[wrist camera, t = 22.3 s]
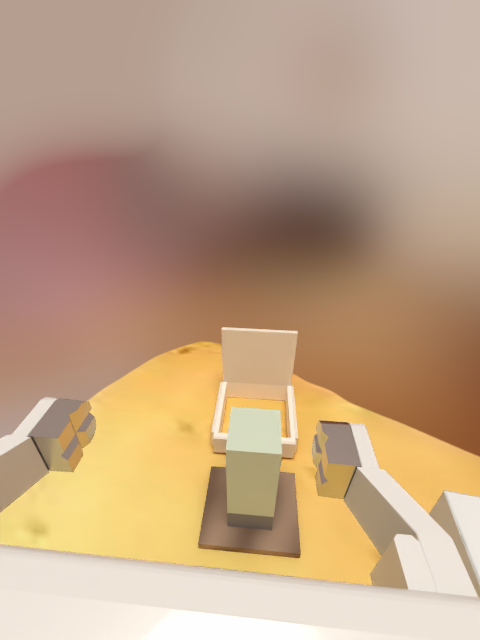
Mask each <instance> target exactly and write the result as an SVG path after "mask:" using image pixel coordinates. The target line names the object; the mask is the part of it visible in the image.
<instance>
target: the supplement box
mask: <svg viewBox="0 0 480 640" xmlns="http://www.w3.org/2000/svg"><path fill="white" fill-rule="evenodd" d="M429 515H430V516H431V517H432V518H433V519H434V520H435V521H436V522H437V524H438V525H439V526H440V527H441V528H442V529H443V530H444V531H445V532H446V533H447V534H448V535H449V536H450V537H451V538H452V539H453V542H454V544H455V546H456V548H457V551H458V553H459V555H460V557H461V559H462V562H463V564H464V566H465V568H466V571H467V573H468V575H469V577H470V580H471V582H472V584H473V586H474V589H475V591H476V593H477V595H478V597H480V497H477V496H472V495H467V494H462V493H456V492H451V491H446V490H445V491H444V492H443V493H442V495H441V496H440V498H439V500H438V501H437V503H436V504H435V506H434V507H433V509H432V510H431V512H430V514H429Z"/></svg>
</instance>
